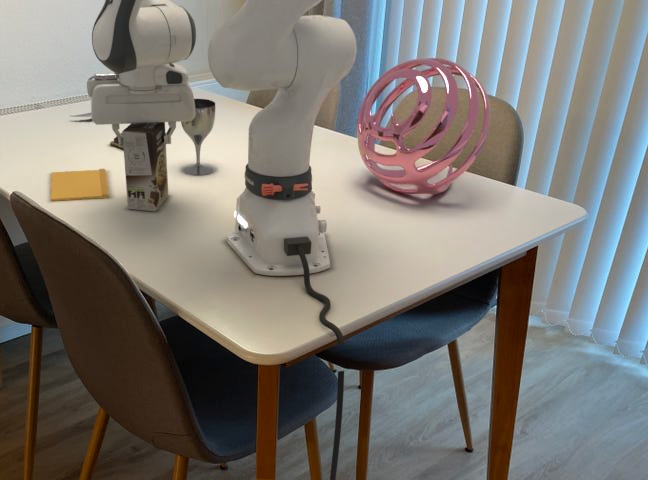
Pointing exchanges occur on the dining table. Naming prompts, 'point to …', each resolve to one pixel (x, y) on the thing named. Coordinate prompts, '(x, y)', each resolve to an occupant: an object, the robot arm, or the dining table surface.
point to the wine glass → (200, 133)
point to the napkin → (79, 185)
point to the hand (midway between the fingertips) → (145, 144)
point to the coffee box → (145, 165)
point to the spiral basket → (397, 132)
